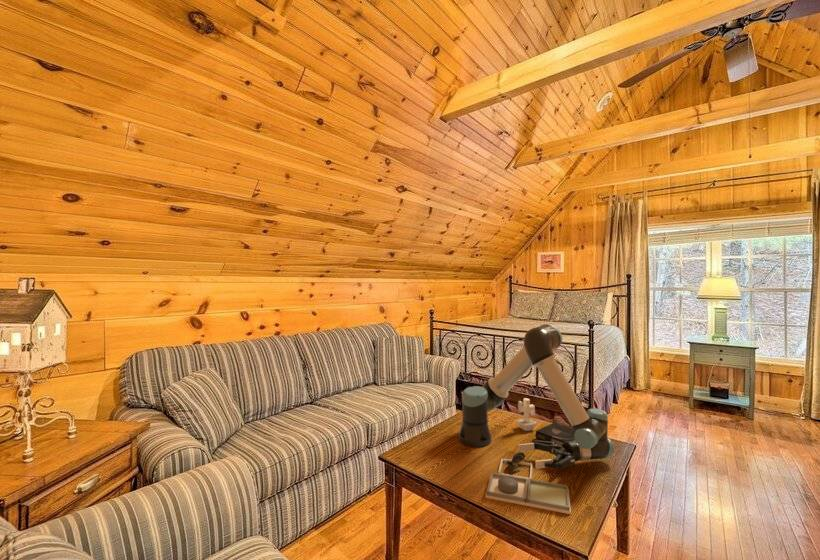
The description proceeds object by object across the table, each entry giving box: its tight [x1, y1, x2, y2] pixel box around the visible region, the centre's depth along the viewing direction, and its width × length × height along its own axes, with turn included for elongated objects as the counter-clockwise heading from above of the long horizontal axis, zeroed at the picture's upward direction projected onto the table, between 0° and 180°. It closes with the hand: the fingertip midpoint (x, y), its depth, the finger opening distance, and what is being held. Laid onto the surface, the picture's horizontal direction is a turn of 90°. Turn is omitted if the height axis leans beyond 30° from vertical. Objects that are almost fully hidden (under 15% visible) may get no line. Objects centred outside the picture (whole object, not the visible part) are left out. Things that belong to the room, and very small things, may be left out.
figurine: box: [515, 397, 538, 432], centre depth 189 cm, size 7×9×15 cm
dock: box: [485, 472, 572, 515], centre depth 135 cm, size 27×13×3 cm, turn 70°
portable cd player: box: [535, 421, 575, 445], centre depth 177 cm, size 16×17×4 cm
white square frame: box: [497, 458, 533, 482], centre depth 150 cm, size 12×12×1 cm
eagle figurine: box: [503, 451, 526, 475], centre depth 151 cm, size 8×7×9 cm
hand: (527, 455), depth 150 cm, fingers open, 13 cm apart
